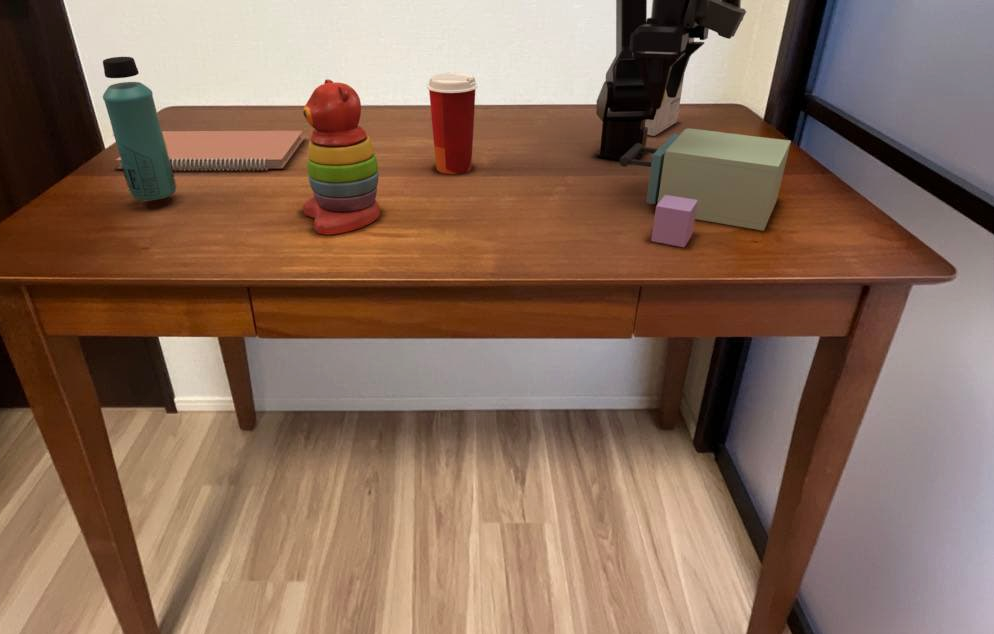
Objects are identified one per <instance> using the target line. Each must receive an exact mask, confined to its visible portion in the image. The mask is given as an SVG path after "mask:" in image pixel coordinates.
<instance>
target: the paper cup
mask: <svg viewBox="0 0 994 634" xmlns="http://www.w3.org/2000/svg"><path fill="white" fill-rule="evenodd" d="M478 87H479V86H478V84H477V83H476V78H475V75H472V74H469V73H464V72H443V73H437V74H434V75H431V76H430V78H429V80H428V84H427V85H426V89H427V90H428V93H429V103H430V104H429V105H430V116H431V127H432V128H431V129H432V137H433V148H434V159H435V168H436V170H437V171H438V172H439V173H441V174H445V175H462V174H465V173H467V172H469V171H470V170H471V169H472V159H473V144H474V128H475V127H474V126H475V125H474V124H475V108H476V107H475V106H476V90H477V89H478Z"/></svg>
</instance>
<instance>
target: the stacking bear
mask: <svg viewBox="0 0 994 634" xmlns="http://www.w3.org/2000/svg"><path fill="white" fill-rule="evenodd" d="M302 113H303V116H304V118H305V121H306V122H307V123H308V125H309V126H311V127H312V128H313V131H312V132H311V134H310V135H309V143H308V149H307V159H306V160H307V162H306V171H307V178H308V182H309V185H310V189H311V190H312V194H313V197H310V198H308V199H306V201H304V202H303V205H302V211H303V214H304V215H305V216H307V217H311V218H313V219H314V221H313V222H314V223H313V229H314V231H316V233H317V234H321V235H337V234H342V233H347V232H351V231H354V230H357V229H360V228H363V227H366V226H367V225H369V224H372V223H373V222H375V221H376V220H378V218H379V217H380V216H381V208H380V206H379V203H378V201H377V200H376V199H377V193H378V184H379V175H380V173H379V163H378V159H377V155H376V153H375V149H374V145H373V142H372V139H371V138H370V136H369V135H368V133H367V132H366V131H365V129H364V128H363V127H361V126H360V124H359V123H360V121H361V115H362V102H361V98H360V96H359V94H358V93H357V91H356V89H354V88H353V87H352V86H351V85H349V84H347V83H344V82H337V81H336V82H334V81H333V80H331V79H328V78H327V79H325V80H324V83H322V84H320V85H318V86H317V87H315V89H314V90H313V92H312V94H311V95H310V97H309V99H308V100H307V101H306V103H305V105H304V107H303V111H302Z"/></svg>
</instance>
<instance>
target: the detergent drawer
mask: <svg viewBox="0 0 994 634" xmlns="http://www.w3.org/2000/svg"><path fill="white" fill-rule="evenodd" d="M679 135H680V134H675V133H672V134H671V135H670V136H668V137H667V138H666V140H665V141H664V142H663V144H661V145H660V147H658V148H656V147H647V146H646V147H643V146H642V144H640V143H636V144H635V145H634V146H633V147H632V148H631V149H630V150H629V151H628V152H627V153H626V154H625V155H623V156H622V157H621V158H620V160H618V161H619V165H620V166H621V167H627V166H629V165H633V166H640V167H646V168H650V171H649V180H648V188H647V194H646V202H645V203H647V204H651V205H655V204H656V203H658V197H659V190H660V184H661V177H662V170H663V163H664V156H665V151H666V150H667V149H668V147H669V146H670V145H671V144H672V143H673V142H674V141H675V140H676V139H677V138H678V137H679ZM641 152H644V153H646V154H647V153H648V154H652V157H651V161H649V160H642V159H637V160H635V158H636V157H637V156H638V155H639V154H640V153H641Z"/></svg>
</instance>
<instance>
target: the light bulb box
mask: <svg viewBox="0 0 994 634" xmlns="http://www.w3.org/2000/svg"><path fill="white" fill-rule="evenodd" d="M684 79H685V74H684V75H683V78H682V81H681V84H680V87H679V90H678V93H677V95H676V97H675V98H669V97H668V96H667V92H666V91H665V94H664V98H663V101H662V105H661V108H660V109H657V111H656V115H655V117H654V120H646V121H645V127H647V128H648V132H647V136H650V137H651V136H652V137H656V136H657V135H659V134H660V133H662V132H664V131H665V130H667V129H668V128H670V127H672V126H673V125H674V124H676V123H678V118H679V112H680V106H681V100H682V99H681V98H682V93H683V92H682V91H683V86H684V85H683V84H684Z"/></svg>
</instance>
